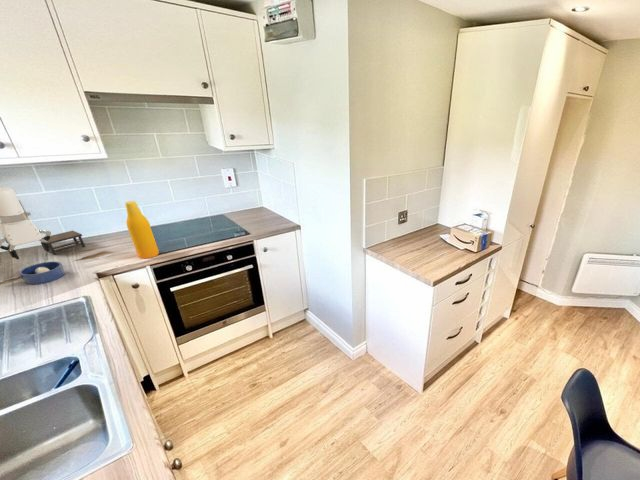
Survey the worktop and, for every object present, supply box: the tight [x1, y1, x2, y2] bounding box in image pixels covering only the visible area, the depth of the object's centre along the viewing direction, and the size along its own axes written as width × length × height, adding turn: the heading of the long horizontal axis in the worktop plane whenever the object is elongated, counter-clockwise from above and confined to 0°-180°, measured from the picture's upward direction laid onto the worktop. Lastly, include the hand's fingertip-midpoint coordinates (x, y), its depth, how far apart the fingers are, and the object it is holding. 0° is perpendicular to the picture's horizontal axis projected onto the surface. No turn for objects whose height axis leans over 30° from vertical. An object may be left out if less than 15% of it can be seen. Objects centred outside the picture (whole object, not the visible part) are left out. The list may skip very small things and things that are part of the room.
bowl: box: [19, 261, 66, 285], centre depth 147 cm, size 13×13×5 cm
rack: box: [42, 230, 86, 256], centre depth 169 cm, size 14×10×9 cm
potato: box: [35, 267, 50, 274], centre depth 147 cm, size 4×7×4 cm, turn 62°
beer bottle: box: [124, 200, 160, 259], centre depth 165 cm, size 9×9×29 cm
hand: (32, 254), depth 142 cm, fingers open, 9 cm apart
